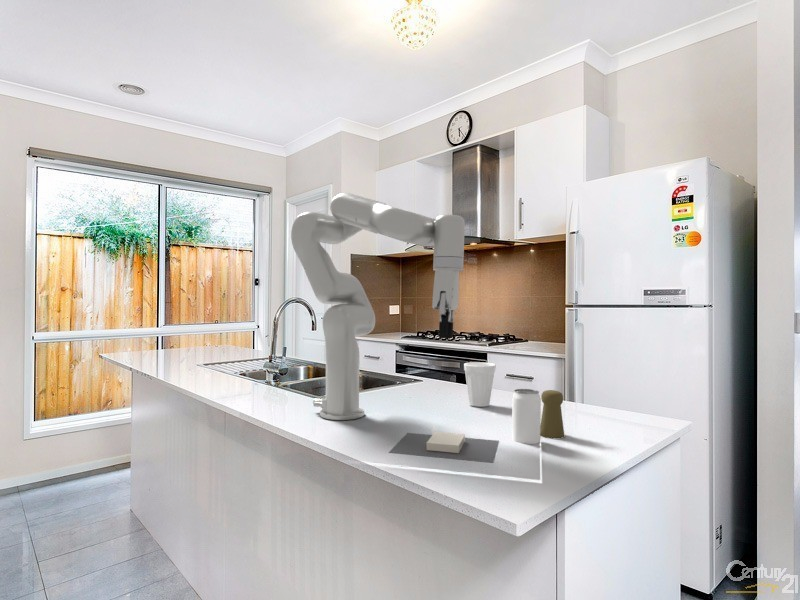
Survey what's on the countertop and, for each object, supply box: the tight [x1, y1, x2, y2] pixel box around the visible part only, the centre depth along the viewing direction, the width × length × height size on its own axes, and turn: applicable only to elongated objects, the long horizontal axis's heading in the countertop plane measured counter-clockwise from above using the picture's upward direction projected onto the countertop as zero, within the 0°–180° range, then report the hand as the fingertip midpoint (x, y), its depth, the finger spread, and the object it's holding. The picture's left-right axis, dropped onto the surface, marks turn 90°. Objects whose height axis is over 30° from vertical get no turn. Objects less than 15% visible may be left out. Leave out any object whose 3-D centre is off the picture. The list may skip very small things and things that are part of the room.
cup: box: [463, 361, 496, 408], centre depth 154 cm, size 10×10×13 cm
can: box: [511, 388, 542, 445], centre depth 115 cm, size 6×6×12 cm
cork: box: [540, 389, 565, 439], centre depth 121 cm, size 6×6×11 cm
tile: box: [427, 431, 466, 453], centre depth 109 cm, size 7×2×9 cm
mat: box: [388, 432, 500, 464], centre depth 109 cm, size 22×16×1 cm
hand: (445, 337), depth 123 cm, fingers closed
